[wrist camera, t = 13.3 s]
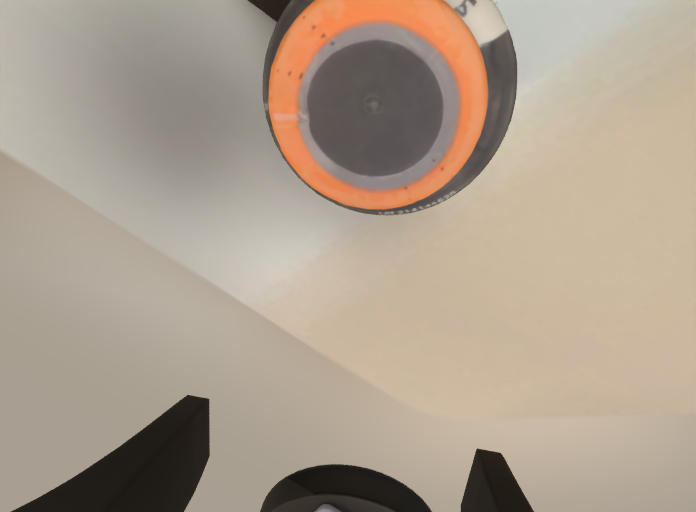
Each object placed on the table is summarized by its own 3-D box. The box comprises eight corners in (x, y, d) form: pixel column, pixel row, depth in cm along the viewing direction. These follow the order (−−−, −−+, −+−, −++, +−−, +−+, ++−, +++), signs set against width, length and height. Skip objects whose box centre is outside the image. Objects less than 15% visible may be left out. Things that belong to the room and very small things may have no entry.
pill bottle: (432, -42, 17) (452, -199, 7) (505, 107, 19) (613, 166, 8) (297, 54, 19) (148, 47, 9) (373, 182, 20) (325, 308, 10)
